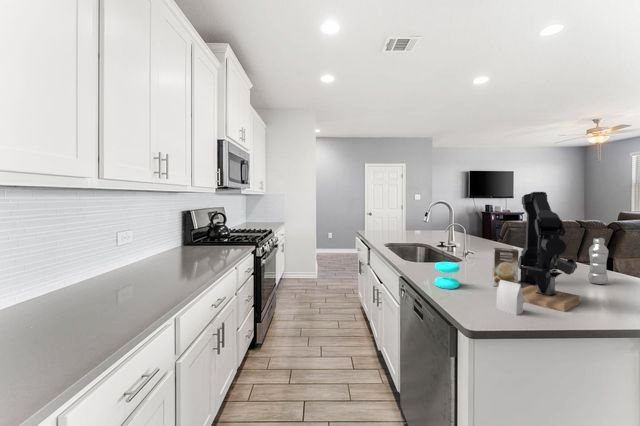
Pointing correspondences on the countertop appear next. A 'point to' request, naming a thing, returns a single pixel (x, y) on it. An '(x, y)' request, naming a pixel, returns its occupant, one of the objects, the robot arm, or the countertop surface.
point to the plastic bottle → (598, 262)
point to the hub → (550, 299)
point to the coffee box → (505, 265)
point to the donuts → (447, 281)
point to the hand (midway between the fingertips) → (546, 292)
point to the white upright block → (510, 297)
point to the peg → (549, 288)
